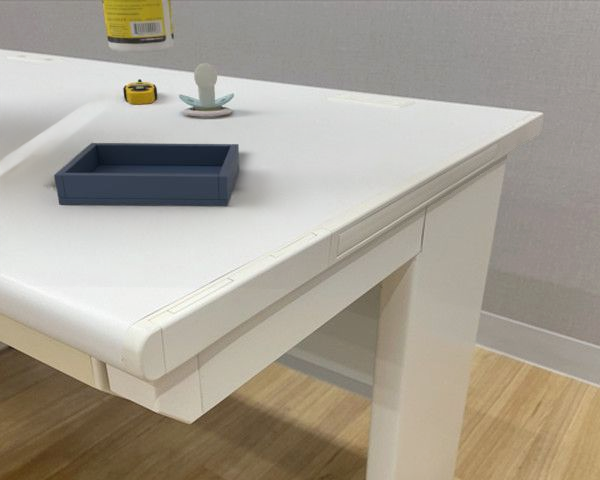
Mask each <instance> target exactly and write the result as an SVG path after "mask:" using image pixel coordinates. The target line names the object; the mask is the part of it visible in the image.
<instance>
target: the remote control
mask: <svg viewBox="0 0 600 480" xmlns="http://www.w3.org/2000/svg"><path fill="white" fill-rule="evenodd" d="M122 89H123V90H122V91H123V98H124V101H125V102H126V103H127V102H128V103H130V104H131V105H147V104H152V103H153V102H155V101H157V100H158V89H157V85H155V84H154V83H153V84H152V83H151V82H148V81H142V79H140V78H139V79H138V80H137V82H129V83H128V84H125V85H124V86H123V88H122Z"/></svg>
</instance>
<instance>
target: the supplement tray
mask: <svg viewBox="0 0 600 480" xmlns="http://www.w3.org/2000/svg"><path fill="white" fill-rule="evenodd" d="M239 148H240V147H239V143H153V142H152V143H151V142H149V143H146V142H145V143H143V142H142V143H141V142H140V143H139V142H90V143H89V144H88V145H87V146H86V147H85V148H83V150H81V151H80V152H79V153H78V154H76V156H74V157H73V158H72V159H71V160H70V161H68V163H66V164H65V165H64V166H63V167H61V169H59V170H58V171H57V172H56V173H55V174H54V175H53V178H54V182H55V188H56V194H57V198H58V199H57V200H58V205H69V206H70V205H71V206H72V205H75V206H76V205H78V206H79V205H81V206H82V205H83V206H84V205H85V206H86V205H87V206H172V207H173V206H175V207H176V206H182V207H183V206H185V207H187V206H188V207H228V206H229V203H230V202H231V201H230V200H231V197H232V195H233V191H234V188H235V185H236V181H237V179H238V176H239V173H240V149H239Z"/></svg>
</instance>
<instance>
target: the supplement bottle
mask: <svg viewBox="0 0 600 480" xmlns="http://www.w3.org/2000/svg"><path fill="white" fill-rule="evenodd" d="M101 2H102V9H103V16H104V23H105V30H106V37H107V42H108V47H109V49H111V50H112V51H114V52H117V53H118V52H119V53H155V52H161V51H167V50H170V49H172V48H173V47H174V45H175V36H174V25H173V14H172V6H171V5H172V3H171V0H101Z"/></svg>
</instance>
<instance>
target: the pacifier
mask: <svg viewBox="0 0 600 480" xmlns="http://www.w3.org/2000/svg"><path fill="white" fill-rule="evenodd" d="M193 79H194V83H195V84H196V86H197V87H198V99H197V98H194V97H190V96H188V95H185V94H180V93H179V94H178V97H179V99H180V100H181V101H182V102H183V103H185V104H186V105H189V106H191V107H187V108H185V109H183V110H182V112H183V114H185V115H187V116H191V117H219V116H224V115H229V114H231V113H232V112H233V110H232V109H231V108H229V107H226V106H224V105H226V104H228V103H230V101H232V100H233V99H234V98H235V93H230V94H226V95H224V96H222V97H219V98H216V91H215V85H216V84H217V82H218V73H217V71H216V69H215V67H214V66H213V65H212V64H210V63H206V62H203V63H200V64H198V65H197V67H196V68H195V70H194V74H193Z"/></svg>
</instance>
